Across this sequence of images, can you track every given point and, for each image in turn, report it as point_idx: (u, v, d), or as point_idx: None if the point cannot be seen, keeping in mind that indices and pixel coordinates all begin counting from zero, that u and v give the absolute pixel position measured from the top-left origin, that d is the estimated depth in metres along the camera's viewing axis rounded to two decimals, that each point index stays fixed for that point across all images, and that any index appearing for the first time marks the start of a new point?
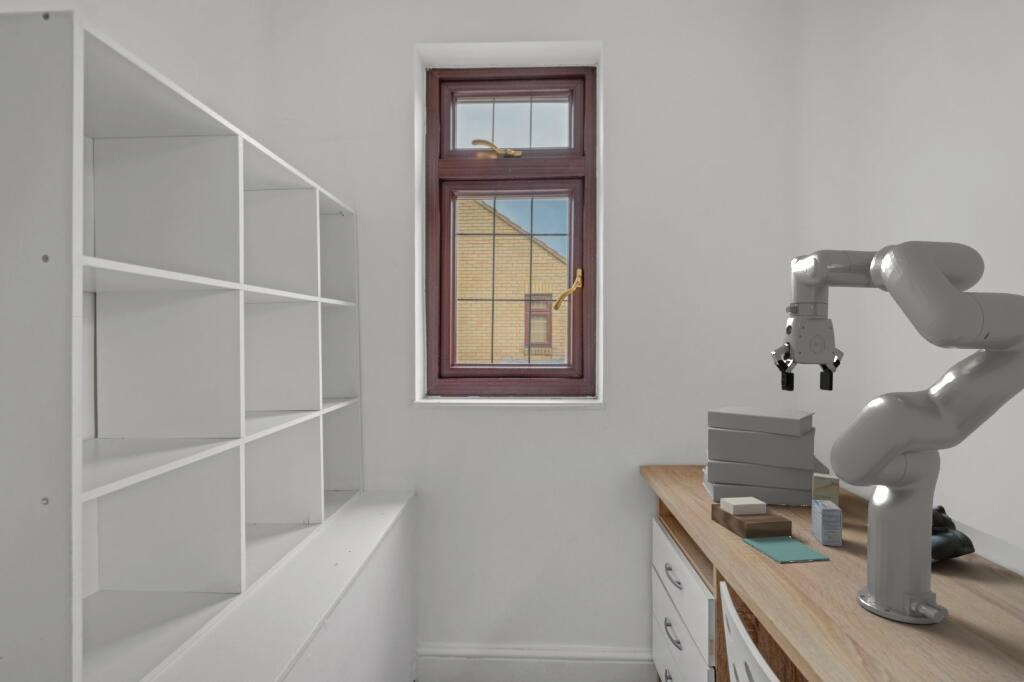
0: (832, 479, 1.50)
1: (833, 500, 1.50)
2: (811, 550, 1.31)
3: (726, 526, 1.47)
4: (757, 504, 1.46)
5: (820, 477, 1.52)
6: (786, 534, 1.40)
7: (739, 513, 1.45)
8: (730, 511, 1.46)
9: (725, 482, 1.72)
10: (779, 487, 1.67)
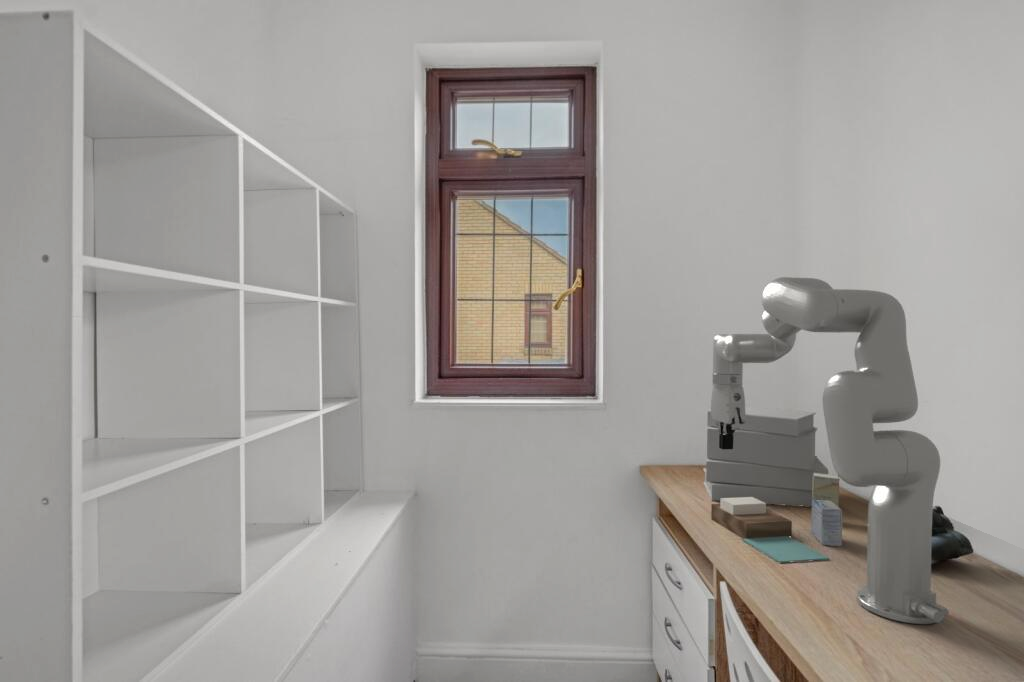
0: (832, 479, 1.50)
1: (833, 500, 1.50)
2: (811, 550, 1.31)
3: (726, 526, 1.47)
4: (757, 504, 1.46)
5: (820, 477, 1.52)
6: (786, 534, 1.40)
7: (739, 513, 1.45)
8: (730, 511, 1.46)
9: (724, 481, 1.72)
10: (777, 487, 1.67)
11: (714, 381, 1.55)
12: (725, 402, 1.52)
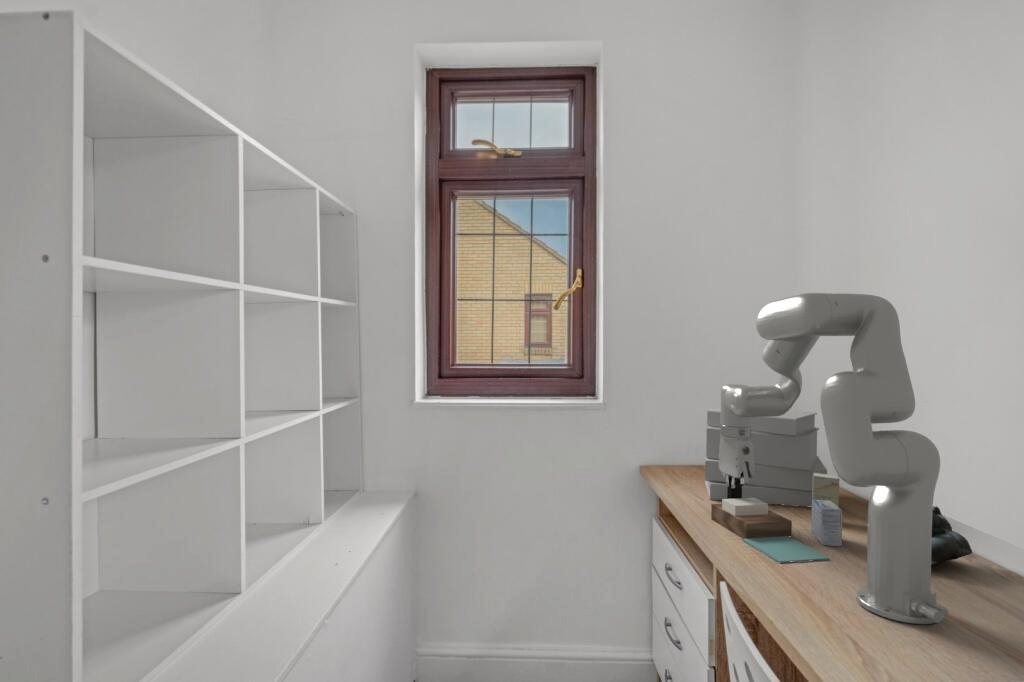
0: (832, 479, 1.50)
1: (833, 500, 1.50)
2: (811, 550, 1.31)
3: (726, 526, 1.47)
4: (759, 505, 1.45)
5: (820, 477, 1.52)
6: (786, 534, 1.40)
7: (741, 514, 1.44)
8: (731, 512, 1.45)
9: (722, 481, 1.73)
10: (776, 487, 1.68)
11: (722, 433, 1.51)
12: (734, 456, 1.48)
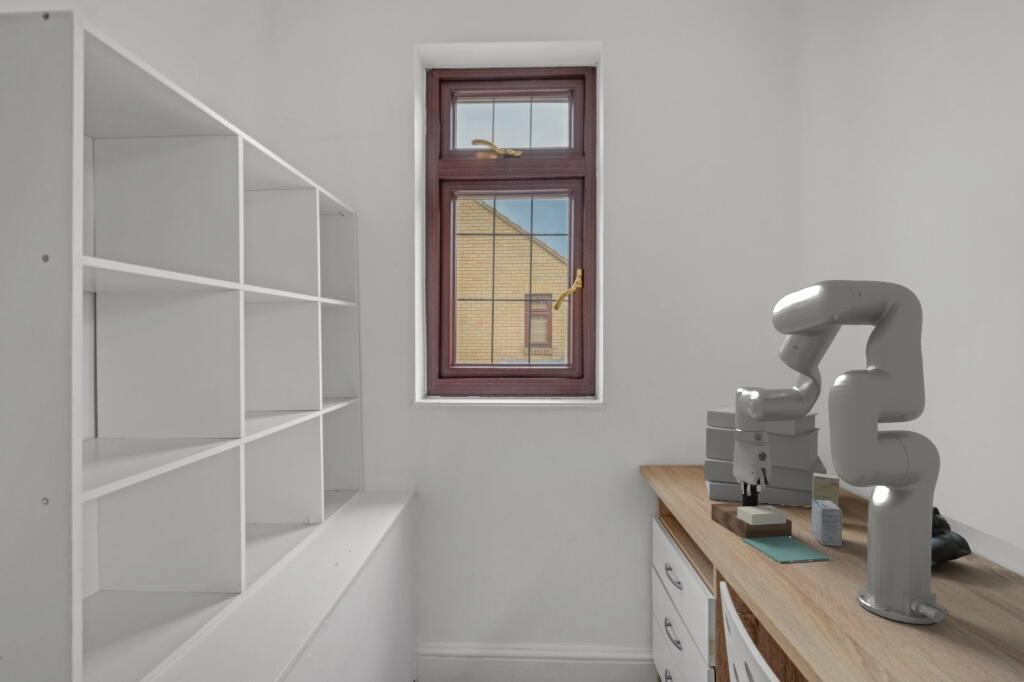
0: (832, 479, 1.50)
1: (833, 500, 1.50)
2: (811, 550, 1.31)
3: (726, 526, 1.47)
4: (777, 513, 1.38)
5: (820, 477, 1.52)
6: (786, 534, 1.40)
7: (758, 523, 1.37)
8: (748, 520, 1.38)
9: (722, 480, 1.73)
10: (775, 487, 1.68)
11: (737, 438, 1.44)
12: (750, 462, 1.41)
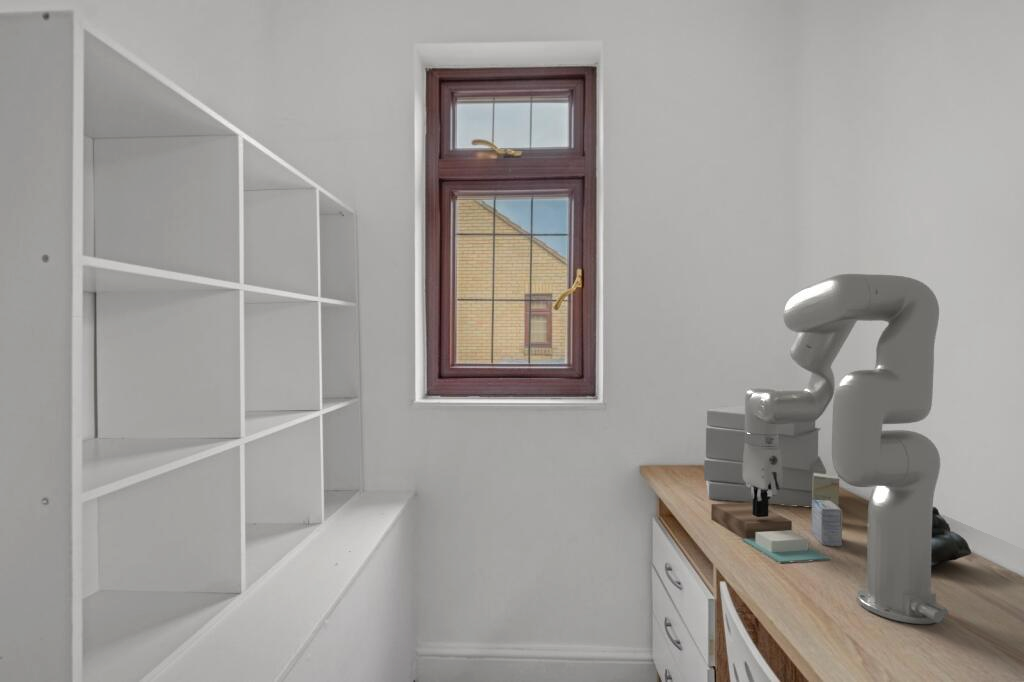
0: (832, 479, 1.50)
1: (833, 500, 1.50)
2: (811, 550, 1.31)
3: (726, 526, 1.47)
4: None
5: (820, 477, 1.52)
6: None
7: None
8: (759, 536, 1.34)
9: (721, 480, 1.74)
10: None
11: (747, 441, 1.40)
12: (760, 466, 1.37)
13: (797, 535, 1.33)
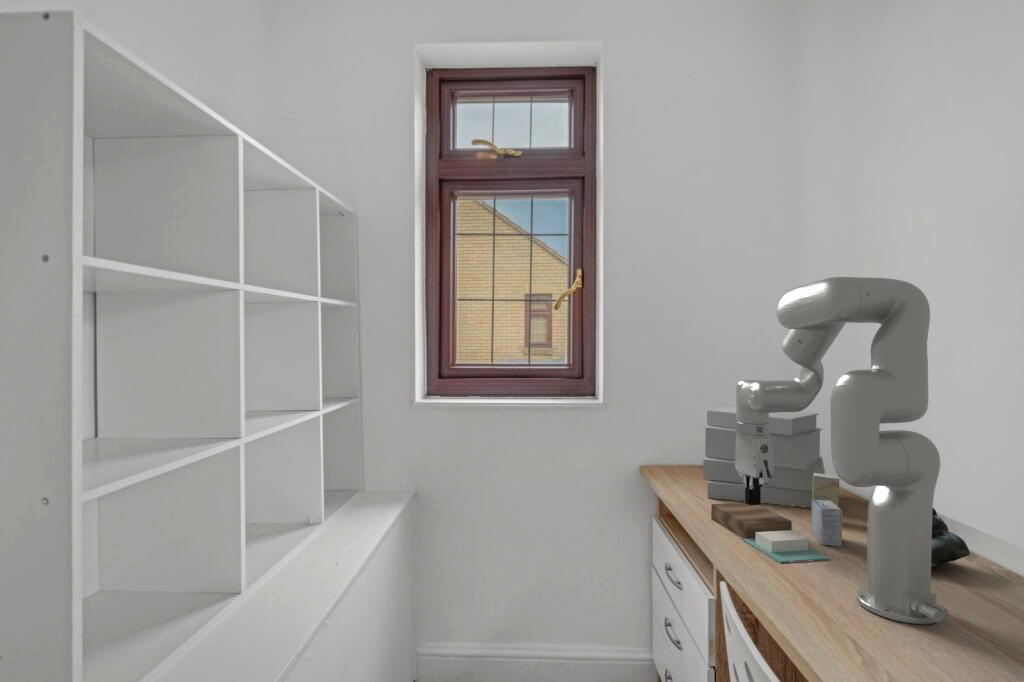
0: (832, 479, 1.50)
1: (833, 500, 1.50)
2: (811, 550, 1.31)
3: (726, 526, 1.47)
4: None
5: (820, 477, 1.52)
6: None
7: None
8: (759, 536, 1.34)
9: (720, 480, 1.74)
10: (773, 487, 1.68)
11: (738, 431, 1.44)
12: (752, 454, 1.41)
13: (797, 535, 1.33)
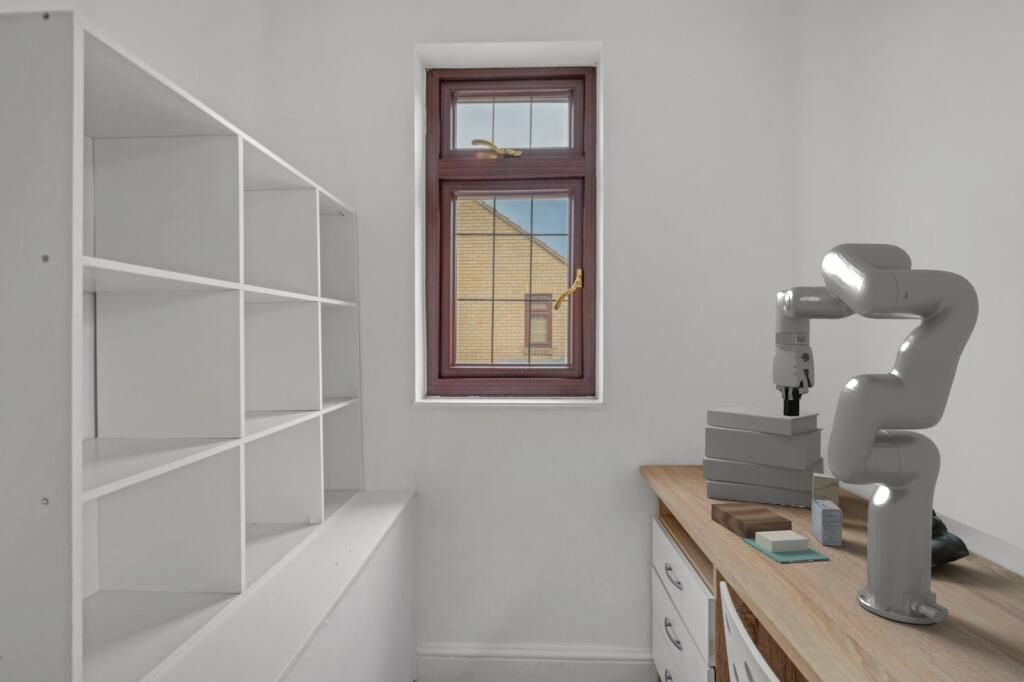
0: (832, 479, 1.50)
1: (833, 500, 1.50)
2: (811, 550, 1.31)
3: (726, 526, 1.47)
4: None
5: (820, 477, 1.52)
6: None
7: None
8: (759, 536, 1.34)
9: (720, 479, 1.75)
10: (772, 486, 1.68)
11: (778, 341, 1.41)
12: (792, 364, 1.38)
13: (797, 535, 1.33)
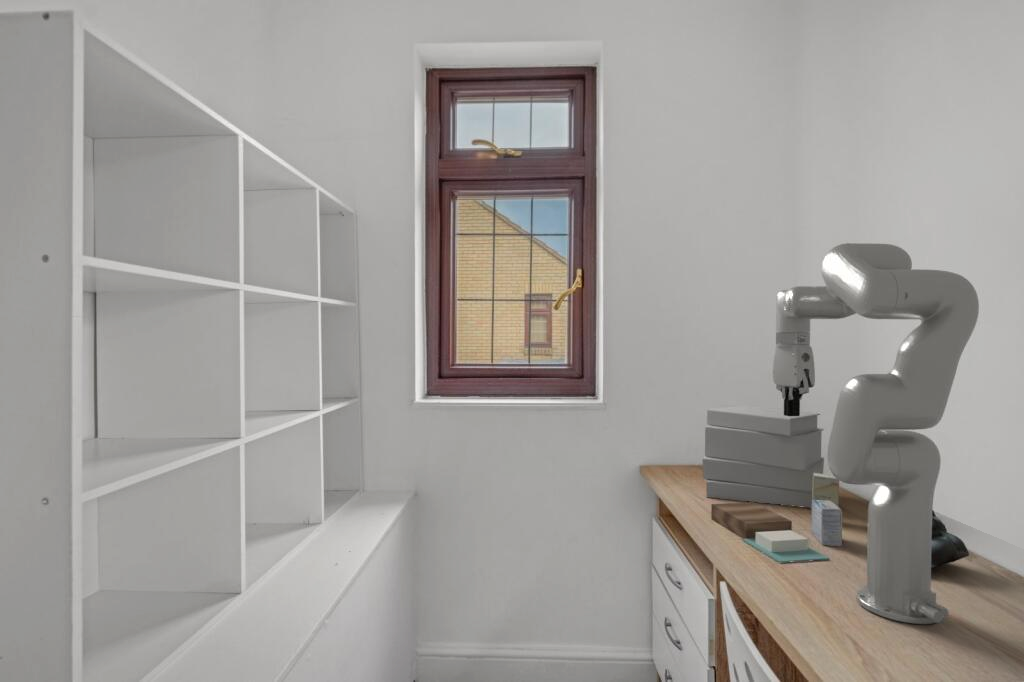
0: (832, 479, 1.50)
1: (833, 500, 1.50)
2: (811, 550, 1.31)
3: (726, 526, 1.47)
4: None
5: (820, 477, 1.52)
6: None
7: None
8: (759, 536, 1.34)
9: (719, 479, 1.75)
10: (772, 486, 1.68)
11: (778, 341, 1.41)
12: (792, 363, 1.38)
13: (797, 535, 1.33)
